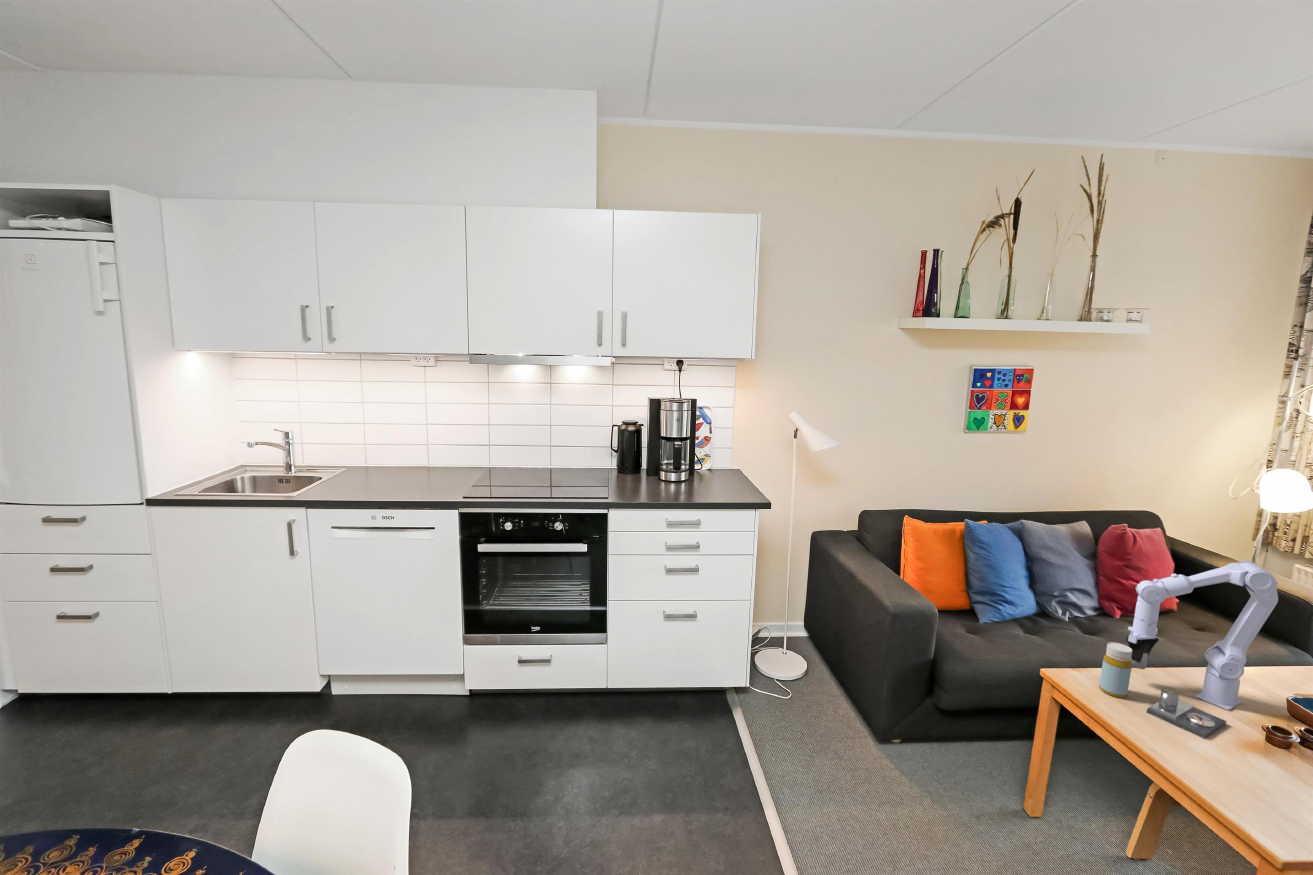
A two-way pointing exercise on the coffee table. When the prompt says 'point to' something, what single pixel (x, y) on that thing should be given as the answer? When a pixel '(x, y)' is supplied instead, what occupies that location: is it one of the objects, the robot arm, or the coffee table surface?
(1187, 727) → the scale
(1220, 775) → the coffee table surface
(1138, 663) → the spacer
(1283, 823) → the coffee table surface
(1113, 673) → the bottle
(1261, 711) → the coffee table surface
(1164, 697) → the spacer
